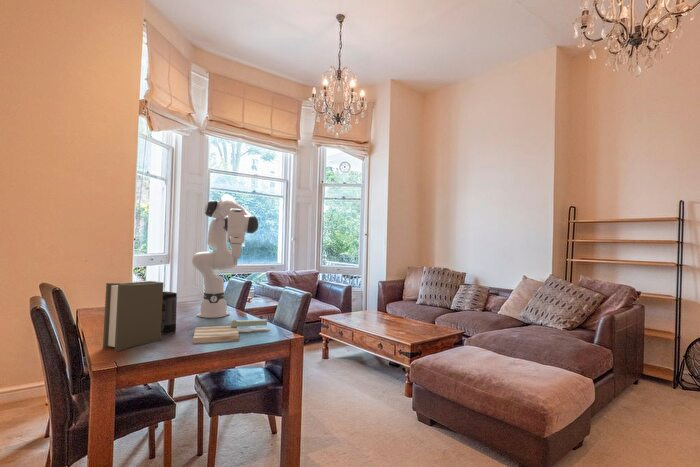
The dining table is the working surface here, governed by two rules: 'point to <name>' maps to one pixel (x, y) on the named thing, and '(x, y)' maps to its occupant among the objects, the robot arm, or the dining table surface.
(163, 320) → the electronic device
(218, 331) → the wooden cutting board
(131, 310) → the book
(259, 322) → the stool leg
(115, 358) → the dining table surface
